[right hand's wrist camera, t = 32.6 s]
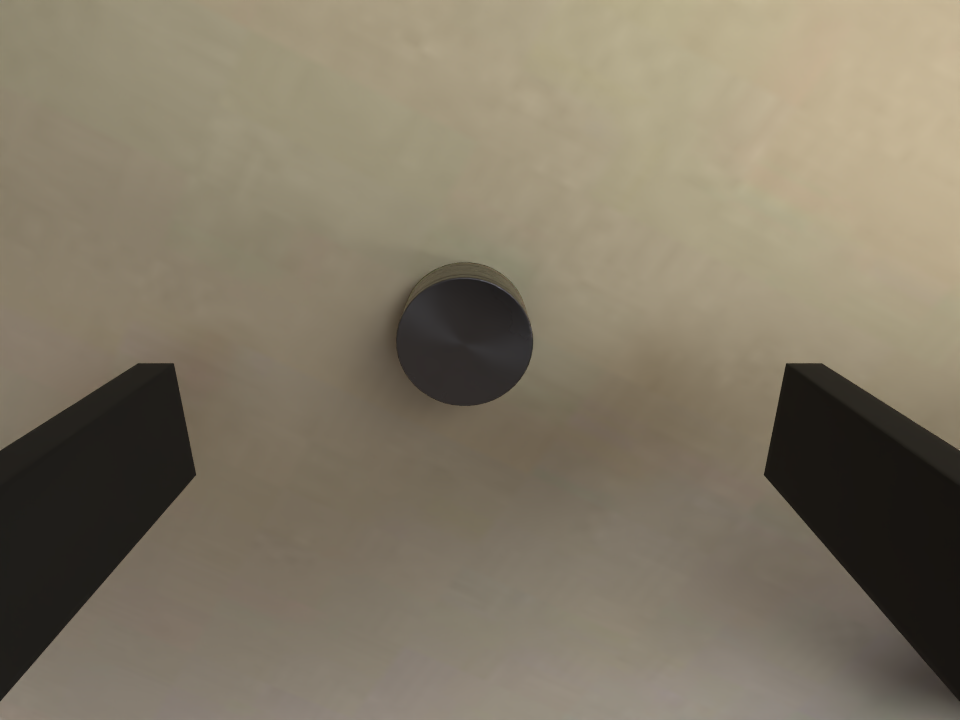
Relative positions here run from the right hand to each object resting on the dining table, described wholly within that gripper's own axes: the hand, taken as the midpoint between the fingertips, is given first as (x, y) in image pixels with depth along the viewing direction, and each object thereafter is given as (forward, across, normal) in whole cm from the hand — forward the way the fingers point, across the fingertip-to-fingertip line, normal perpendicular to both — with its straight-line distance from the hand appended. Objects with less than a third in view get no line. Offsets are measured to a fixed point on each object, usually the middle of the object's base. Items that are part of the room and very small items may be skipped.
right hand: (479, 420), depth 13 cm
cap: (+4, 0, -1) cm, 4 cm away
